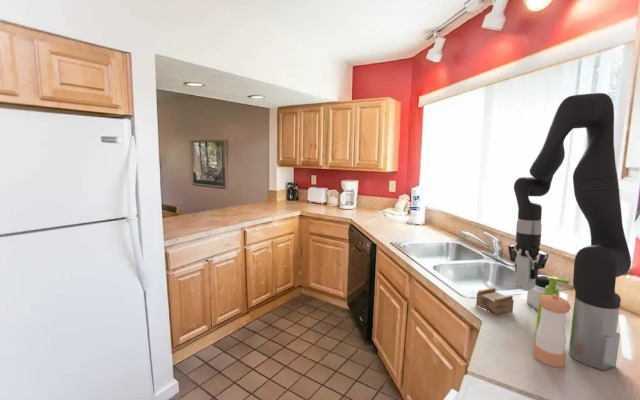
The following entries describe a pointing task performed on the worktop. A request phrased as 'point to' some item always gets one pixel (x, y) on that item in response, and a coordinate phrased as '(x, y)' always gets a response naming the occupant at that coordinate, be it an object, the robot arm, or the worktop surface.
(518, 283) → the skincare box
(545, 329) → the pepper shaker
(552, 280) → the soap dispenser
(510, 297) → the display pedestal
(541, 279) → the medicine bottle
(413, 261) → the worktop surface
